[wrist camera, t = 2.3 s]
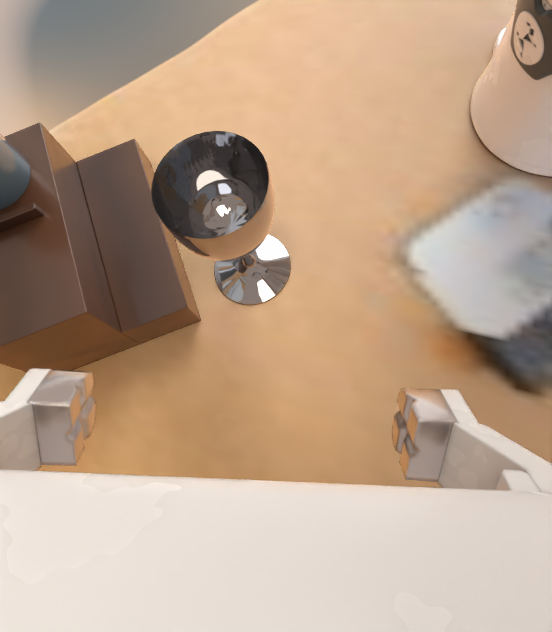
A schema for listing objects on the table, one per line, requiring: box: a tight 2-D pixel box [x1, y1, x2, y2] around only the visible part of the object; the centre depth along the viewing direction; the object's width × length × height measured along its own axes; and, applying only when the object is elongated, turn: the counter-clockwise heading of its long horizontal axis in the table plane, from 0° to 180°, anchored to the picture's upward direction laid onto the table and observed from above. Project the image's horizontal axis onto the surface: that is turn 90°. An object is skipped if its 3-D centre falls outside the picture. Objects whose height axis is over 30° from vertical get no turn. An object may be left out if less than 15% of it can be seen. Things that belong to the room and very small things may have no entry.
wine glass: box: [151, 131, 291, 305], centre depth 42 cm, size 8×8×15 cm
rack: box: [0, 123, 201, 372], centre depth 46 cm, size 15×18×12 cm
